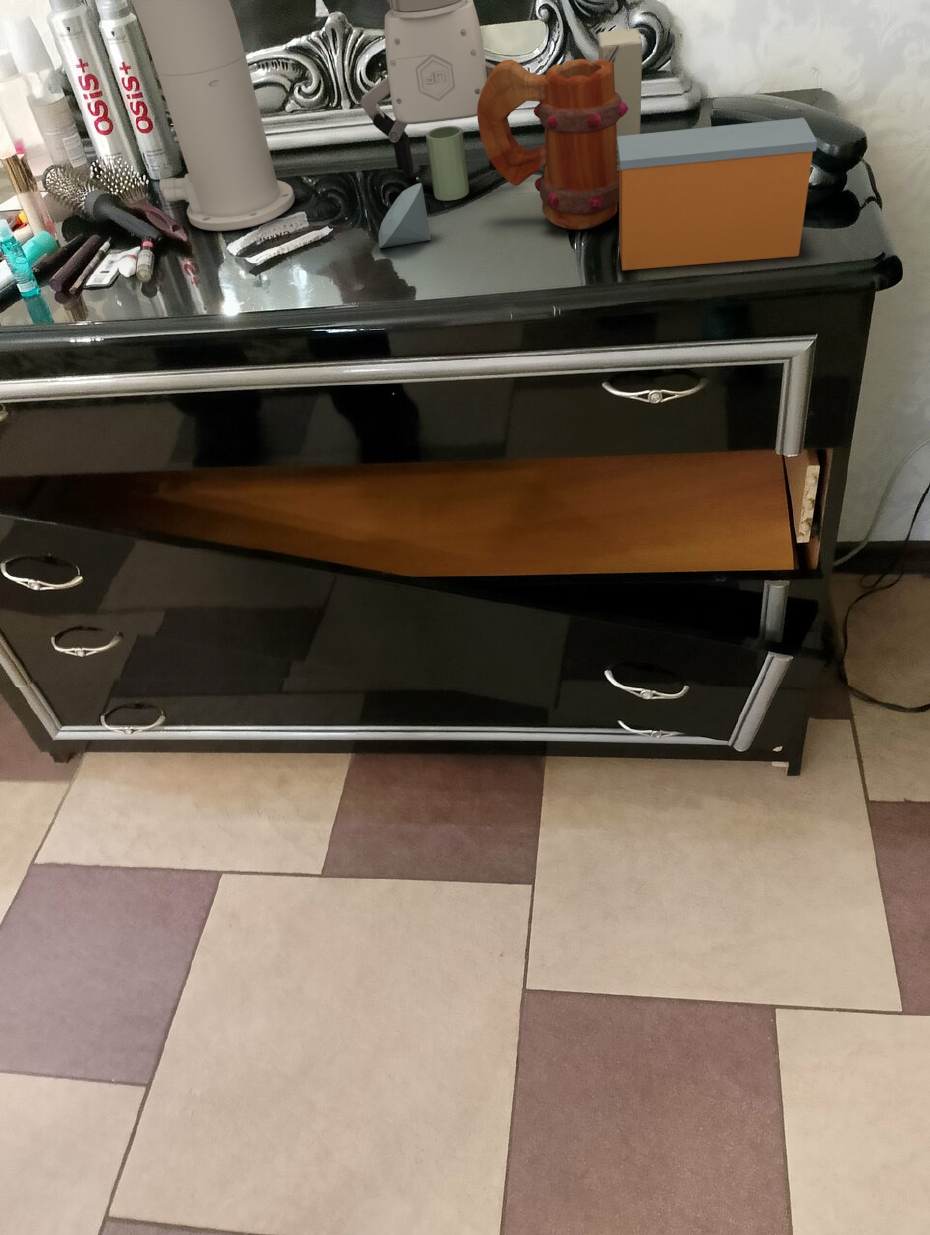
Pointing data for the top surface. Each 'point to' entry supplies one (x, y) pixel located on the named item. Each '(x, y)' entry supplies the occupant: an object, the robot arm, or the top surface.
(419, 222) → the gemstone
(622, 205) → the container
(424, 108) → the robot arm
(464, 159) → the cup
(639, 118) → the box
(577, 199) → the mug
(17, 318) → the top surface
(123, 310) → the top surface
